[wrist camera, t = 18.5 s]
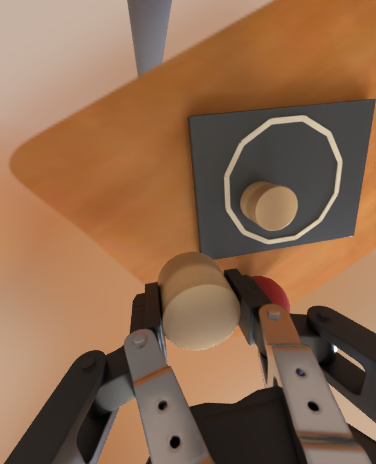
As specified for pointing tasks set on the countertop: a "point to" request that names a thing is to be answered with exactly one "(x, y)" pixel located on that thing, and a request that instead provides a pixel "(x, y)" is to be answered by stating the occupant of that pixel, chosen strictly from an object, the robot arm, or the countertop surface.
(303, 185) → the slate board
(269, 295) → the onion
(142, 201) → the countertop surface
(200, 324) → the dot
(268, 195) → the dot
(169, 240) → the countertop surface
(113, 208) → the countertop surface
